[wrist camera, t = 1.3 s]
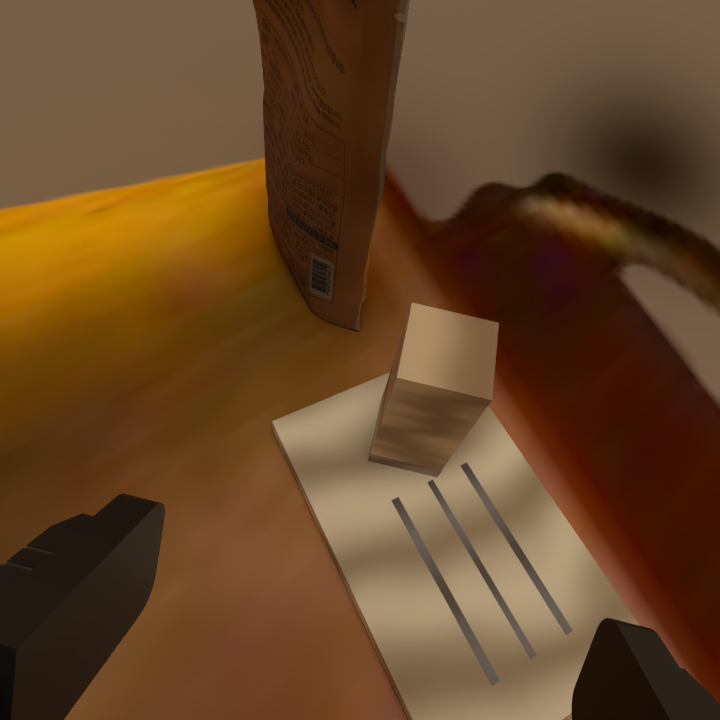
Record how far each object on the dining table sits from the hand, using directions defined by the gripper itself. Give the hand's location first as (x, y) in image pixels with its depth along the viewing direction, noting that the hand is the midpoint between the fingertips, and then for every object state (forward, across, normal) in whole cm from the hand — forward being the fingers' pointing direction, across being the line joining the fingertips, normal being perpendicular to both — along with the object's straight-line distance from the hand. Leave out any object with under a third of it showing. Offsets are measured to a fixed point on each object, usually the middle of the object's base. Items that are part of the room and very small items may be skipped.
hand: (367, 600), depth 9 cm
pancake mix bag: (+36, +9, -3) cm, 37 cm away
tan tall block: (+25, -2, +6) cm, 25 cm away
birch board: (+22, -6, +10) cm, 25 cm away
